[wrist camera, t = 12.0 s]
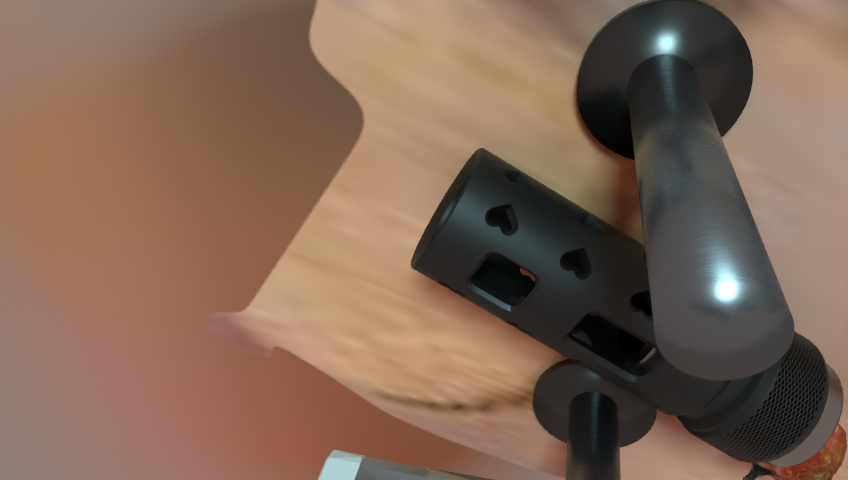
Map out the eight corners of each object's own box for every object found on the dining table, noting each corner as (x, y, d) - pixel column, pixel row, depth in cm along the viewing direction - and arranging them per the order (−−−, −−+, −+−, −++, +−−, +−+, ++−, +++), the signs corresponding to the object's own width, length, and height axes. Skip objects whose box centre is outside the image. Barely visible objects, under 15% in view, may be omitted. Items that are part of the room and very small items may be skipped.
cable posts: (771, 2, 36) (978, 214, 17) (643, 449, 57) (667, 780, 37) (589, -8, 38) (581, 174, 18) (529, 429, 59) (495, 735, 39)
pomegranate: (795, 340, 50) (698, 413, 48) (890, 393, 44) (784, 480, 42) (800, 400, 54) (711, 470, 52) (888, 457, 48) (791, 538, 46)
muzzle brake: (494, 116, 44) (469, 186, 35) (826, 318, 46) (877, 430, 38) (428, 215, 49) (393, 297, 41) (729, 392, 52) (755, 503, 43)
